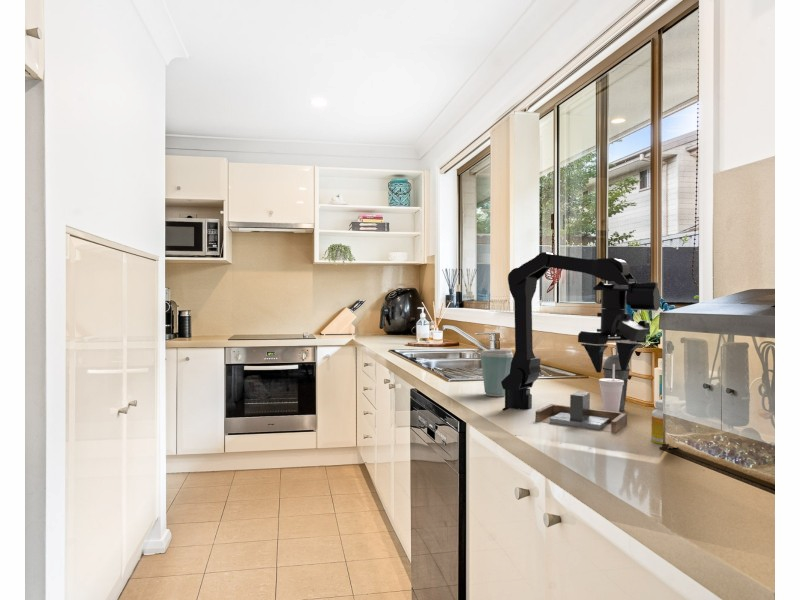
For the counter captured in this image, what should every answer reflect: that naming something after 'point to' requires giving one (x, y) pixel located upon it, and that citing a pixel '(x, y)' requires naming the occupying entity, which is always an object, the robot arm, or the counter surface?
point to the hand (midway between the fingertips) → (611, 371)
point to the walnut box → (615, 417)
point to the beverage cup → (617, 374)
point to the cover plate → (582, 424)
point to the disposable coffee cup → (495, 370)
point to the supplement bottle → (657, 423)
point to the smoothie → (611, 392)
